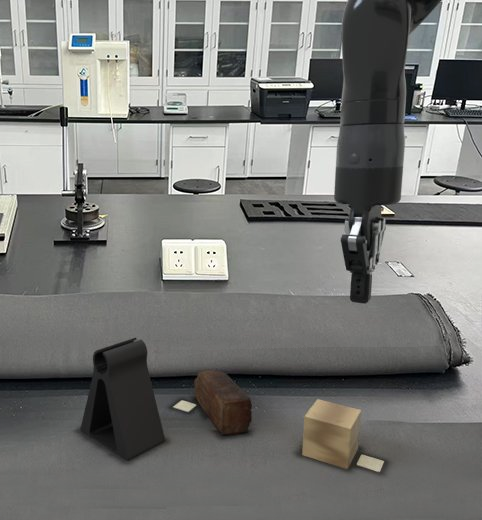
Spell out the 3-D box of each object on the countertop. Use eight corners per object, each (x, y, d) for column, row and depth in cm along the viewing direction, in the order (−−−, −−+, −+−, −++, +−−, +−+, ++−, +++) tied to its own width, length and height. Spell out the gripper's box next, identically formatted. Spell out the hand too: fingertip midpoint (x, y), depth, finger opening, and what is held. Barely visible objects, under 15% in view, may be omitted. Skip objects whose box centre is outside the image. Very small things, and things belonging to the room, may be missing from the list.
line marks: (384, 462, 59) (384, 461, 59) (379, 473, 57) (379, 471, 57) (181, 401, 74) (181, 400, 74) (172, 408, 72) (172, 406, 72)
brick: (252, 433, 65) (253, 398, 64) (221, 437, 65) (222, 402, 64) (219, 395, 76) (220, 365, 75) (193, 399, 75) (193, 367, 74)
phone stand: (80, 431, 66) (77, 340, 64) (117, 415, 70) (115, 329, 68) (127, 462, 60) (125, 362, 57) (165, 442, 64) (165, 348, 61)
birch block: (358, 449, 62) (361, 409, 61) (347, 470, 58) (350, 428, 57) (314, 436, 65) (317, 398, 64) (301, 455, 61) (304, 415, 60)
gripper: (392, 166, 57) (380, 320, 60) (412, 161, 67) (401, 293, 71) (320, 166, 61) (314, 310, 65) (350, 161, 72) (343, 286, 75)
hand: (360, 301), depth 68 cm, fingers closed
